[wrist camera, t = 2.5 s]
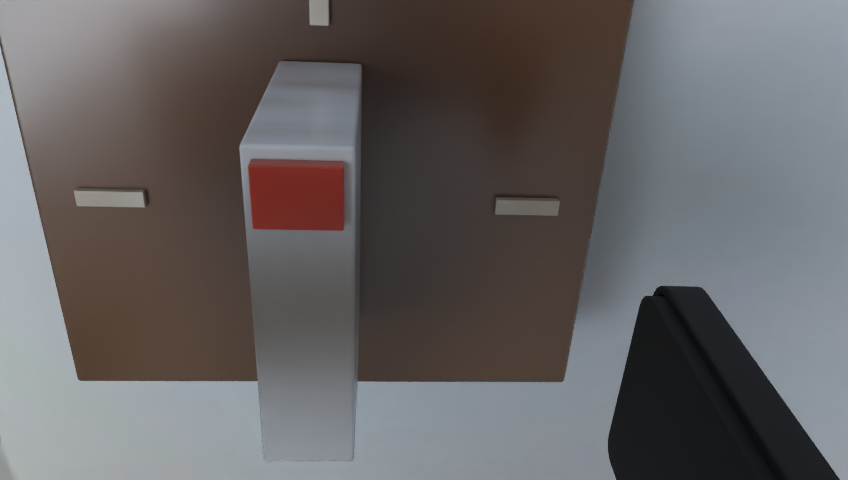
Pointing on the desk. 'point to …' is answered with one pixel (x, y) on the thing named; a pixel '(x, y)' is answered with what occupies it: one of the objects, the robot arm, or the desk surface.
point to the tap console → (380, 174)
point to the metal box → (305, 257)
